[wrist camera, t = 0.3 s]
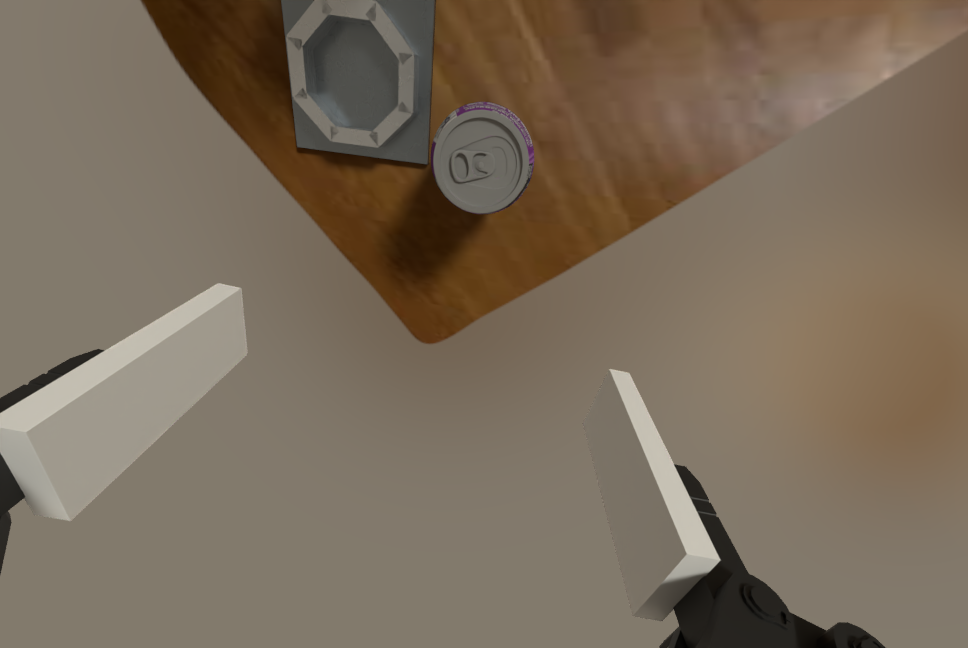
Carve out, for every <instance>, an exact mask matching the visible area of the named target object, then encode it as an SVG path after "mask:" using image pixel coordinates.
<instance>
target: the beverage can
mask: <svg viewBox="0 0 968 648" xmlns="http://www.w3.org/2000/svg"><path fill="white" fill-rule="evenodd" d="M431 166H432V172H433V175H434V178H435V181H436V183H437V185H438V187H439V189H440V190H441V192H442V193H443V195H444V196H445V197H446V198H447V199H448V200H449V201H450V202H451V203H452V204H454V205H455V206H457V207H458V208H460V209H462V210H464V211H467V212H470V213H475V214H491V213H495V212H499V211H501V210H503V209H505V208H507V207H509V206H510V205H512V204H513V203H514V202H515V201H517V200H518V199H519V197H520V196H521V195H522V194H523V192H524V191H525V189H526V188H527V186H528V184H529V181H530V179H531V176H532V172H533V167H534V150H533V144H532V141H531V138H530V135H529V133H528V131H527V129H526V127H525V126H524V124H523V123H522V121H521V120H520V119H519V118H518V117H517V116H516V115H515V114H514V113H513V112H511V111H510V110H508V109H507V108H505V107H503V106H500V105H497V104H494V103H490V102H476V103H470V104H467V105H464V106H462V107H460V108H458V109H456V110H455V111H454V112H452V113H451V114H450V115H449V116H448V117H447V118H446V119H445V120H444V121H443V123H442V124H441V125H440V127H439V129H438V130H437V132H436V135H435V137H434V140H433V144H432V149H431Z"/></svg>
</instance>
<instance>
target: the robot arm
mask: <svg viewBox="0 0 968 648" xmlns="http://www.w3.org/2000/svg"><path fill="white" fill-rule="evenodd" d="M246 355H247V343H246V333H245V322H244V311H243V301H242V290H241V288H238V287H234V286H229V285H224V284H220V283H218V284H216V285H214V286H213V287H211V288H209V289H208V290H206V291H204V292H202V293H201V294H199V295H197V296H196V297H194V298H192V299H191V300H189V301H187V302H186V303H184V304H182V305H181V306H179V307H177V308H176V309H174V310H172V311H171V312H169V313H167V314H166V315H164V316H162V317H161V318H159V319H157V320H156V321H154V322H152V323H151V324H149V325H147V326H146V327H144V328H142V329H140V330H139V331H137V332H135V333H134V334H132V335H130V336H129V337H127V338H125V339H124V340H122V341H120V342H119V343H117V344H116V345H114V346H112V347H110V348H109V349H107V350H100V349H97V350H94V351H91V352H88V353H85V354H82V355H79V356H76V357H73V358H70V359H69V360H67V361H65V362H63V363H61V364H60V365H58V366H56V367H54V368H53V369H51V370H49V371H48V373H47V374H42V375H40V376H38V377H37V378H35V379H33V380H31V381H30V382H29V384H28V385H23V386H21V387H19V388H17V389H15V390H14V391H12V392H10V393H8V394H7V395H5V396H3V397H1V398H0V573H1V569H2V564H3V559H4V554H5V550H6V545H7V541H8V536H9V531H10V526H11V518H10V514H9V512H8V510H10V508H12V507H13V506H14V505H16V504H17V503H18V502H19V501H20V500H22V499H23V498H25V500H26V502H27V504H28V505H29V507H30V508H31V510H32V512H33V514H34V515H39V516H45V517H50V518H56V519H62V520H69V521H71V520H72V519H73V518H74V517H75V516H76V515H77V514H79V513H80V512H81V511H82V510H83V509H84V508H85V507H86V506H87V505H88V504H89V503H90V502H91V501H92V500H93V499H94V498H96V496H98V495H99V494H100V493H101V492H102V491H103V490H104V489H105V488H106V487H107V486H108V485H109V484H110V483H111V482H113V480H115V479H116V478H117V477H118V476H119V475H120V474H121V473H122V472H123V471H124V470H125V469H126V468H127V467H128V466H129V465H131V464H132V463H133V462H134V461H135V460H136V459H137V458H138V457H139V456H140V455H141V454H142V453H143V452H144V451H145V450H146V449H147V448H149V446H151V445H152V444H153V443H154V442H155V441H156V440H157V439H158V438H159V437H160V436H161V435H162V434H163V433H164V432H165V431H166V430H168V429H169V428H170V427H171V426H172V425H173V424H174V423H175V422H176V421H177V420H178V419H179V418H180V417H181V416H182V415H183V414H185V413H186V412H187V411H188V410H189V409H190V408H191V407H192V406H193V405H194V404H195V403H196V402H197V401H198V400H199V399H200V398H201V397H202V396H204V395H205V393H207V392H208V391H209V390H210V389H211V388H212V387H213V386H214V385H215V384H216V383H217V382H218V381H220V380H221V379H222V378H223V377H224V376H225V375H226V374H227V373H228V372H229V371H230V370H231V369H232V368H233V367H234V366H235V365H236V364H238V363H239V362H240V361H241V360H242V359H243V358H244V357H245V356H246ZM583 426H584V430H585V434H586V438H587V442H588V445H589V449H590V453H591V457H592V461H593V464H594V469H595V472H596V476H597V480H598V484H599V488H600V492H601V495H602V499H603V503H604V507H605V511H606V514H607V519H608V523H609V526H610V530H611V534H612V538H613V542H614V546H615V550H616V553H617V557H618V561H619V565H620V568H621V572H622V577H623V580H624V584H625V588H626V592H627V596H628V600H629V603H630V607H631V611H632V615H633V616H635V617H640V618H646V619H652V620H658V621H663V620H664V619H665V618H666V617H667V616H668V614H669V613H670V612H671V611H672V610H673V609H674V611H675V614H676V617H677V620H678V623H679V627H678V628H677V629H676V630H675V631H674V632H673V633H672V634H671V635H670V636H669V637H668V638H667V639H666V640H665V641H664V642H663V643H662V644H661V645H660V648H667V647H668V648H885V647H884V646H883V645H882V644H881V643H880V642H879V641H878V640H877V639H876V638H874V637H873V636H871V635H870V634H869V633H867V632H866V631H864V630H863V629H861V628H859V627H857V626H855V625H852V624H850V623H837V624H836V625H834V626H833V627H831V628H830V629H828V630H827V631H826V630H824V629H822V628H820V627H818V626H816V625H814V624H812V623H810V622H808V621H806V620H804V619H802V618H800V617H798V616H796V615H794V614H792V613H790V612H789V610H788V608H787V606H786V605H785V604H784V603H783V602H782V600H781V599H780V597H779V596H778V595H777V594H776V593H775V592H774V591H773V590H772V589H771V588H770V587H769V586H767V584H765V583H764V582H763V581H761V580H759V579H758V578H756V577H754V576H753V575H750V574H749V573H748V572H747V570H746V568H745V566H744V564H743V563H742V561H741V559H740V557H739V555H738V553H737V551H736V549H735V547H734V546H733V544H732V542H731V540H730V538H729V536H728V535H727V533H726V531H725V529H724V527H723V525H722V523H721V521H720V519H719V518H718V517H716V512H715V510H714V508H713V506H712V505H711V503H709V499H708V497H707V495H706V493H705V491H704V490H703V488H702V486H701V484H700V482H699V481H698V480H697V479H696V478H695V477H694V476H693V475H692V474H691V472H690V471H689V470H688V469H687V468H686V467H685V466H679V465H675V464H673V462H672V460H671V458H670V456H669V454H668V452H667V450H666V448H665V446H664V443H663V441H662V439H661V437H660V435H659V433H658V431H657V429H656V427H655V425H654V423H653V421H652V419H651V417H650V415H649V413H648V411H647V409H646V407H645V404H644V402H643V400H642V398H641V396H640V394H639V392H638V390H637V389H636V386H635V384H634V382H633V380H632V378H631V376H630V374H629V373H626V372H622V371H617V370H613V369H609V370H608V373H607V375H606V377H605V379H604V381H603V383H602V385H601V387H600V389H599V391H598V393H597V395H596V397H595V400H594V401H593V403H592V406H591V408H590V410H589V412H588V414H587V416H586V418H585V420H584V422H583Z"/></svg>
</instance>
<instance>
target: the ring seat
mask: <svg viewBox="0 0 968 648" xmlns="http://www.w3.org/2000/svg"><path fill="white" fill-rule="evenodd" d="M281 3H282V13H283V22H284V31H285V40H286V49H287V59H288V68H289V77H290V86H291V95H292V105H293V114H294V123H295V132H296V141H297V147H301V148H309V149H316V150H324V151H331V152H339V153H346V154H354V155H361V156H368V157H376V158H383V159H391V160H398V161H406V162H413V163H421V164H428V163H429V141H430V119H431V97H432V74H433V52H434V30H435V8H436V0H281Z"/></svg>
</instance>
